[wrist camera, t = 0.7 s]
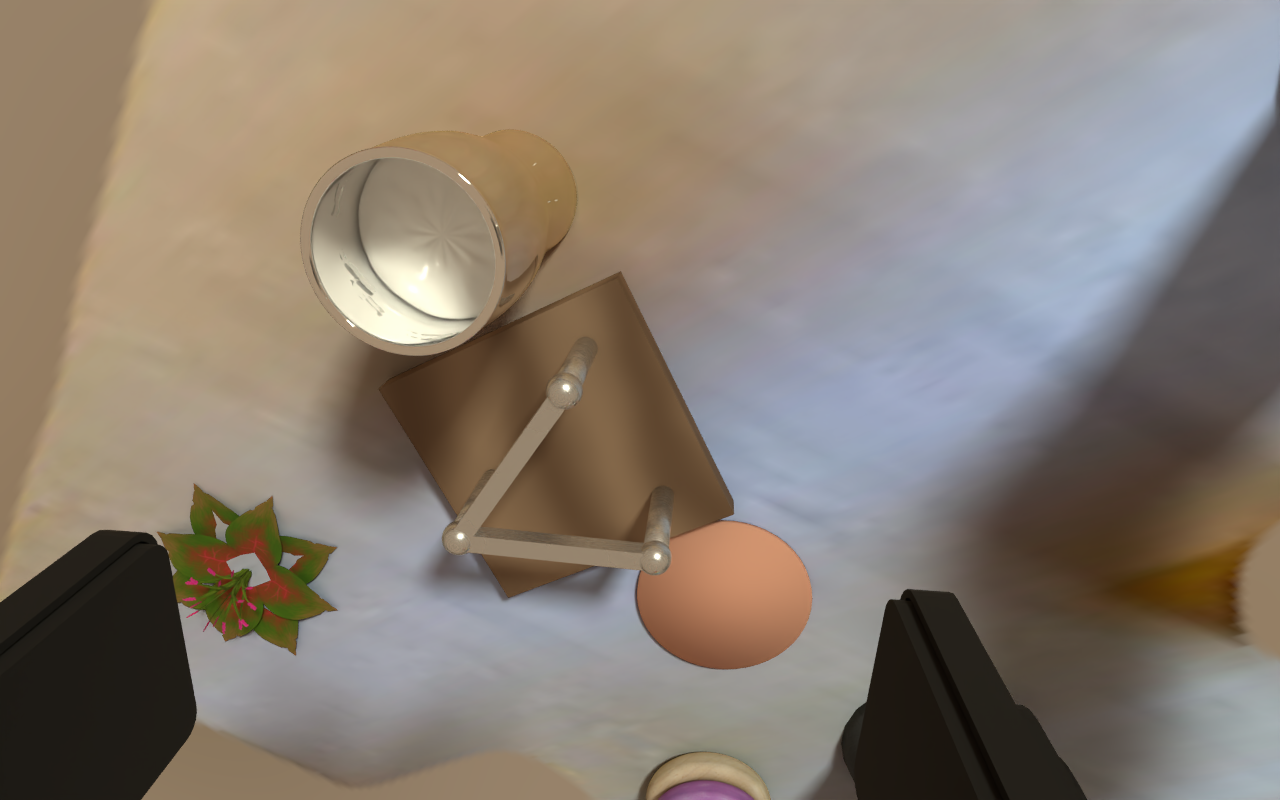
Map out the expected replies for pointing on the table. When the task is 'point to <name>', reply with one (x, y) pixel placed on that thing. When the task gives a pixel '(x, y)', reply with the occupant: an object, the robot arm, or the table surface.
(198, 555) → the lily flower
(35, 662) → the robot arm
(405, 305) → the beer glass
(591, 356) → the bent wire
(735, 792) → the stacking toy
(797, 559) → the pad
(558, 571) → the board
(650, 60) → the table surface
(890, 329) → the table surface
